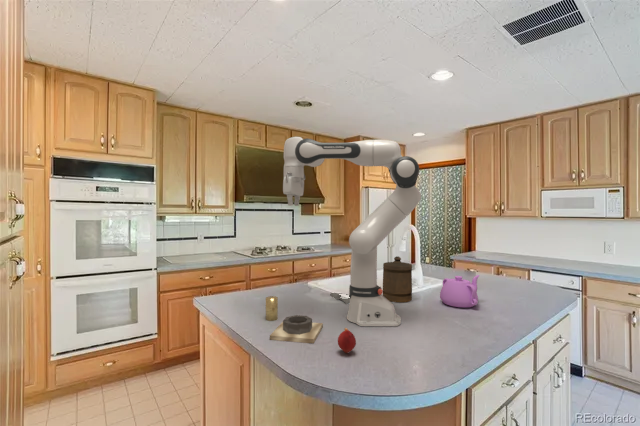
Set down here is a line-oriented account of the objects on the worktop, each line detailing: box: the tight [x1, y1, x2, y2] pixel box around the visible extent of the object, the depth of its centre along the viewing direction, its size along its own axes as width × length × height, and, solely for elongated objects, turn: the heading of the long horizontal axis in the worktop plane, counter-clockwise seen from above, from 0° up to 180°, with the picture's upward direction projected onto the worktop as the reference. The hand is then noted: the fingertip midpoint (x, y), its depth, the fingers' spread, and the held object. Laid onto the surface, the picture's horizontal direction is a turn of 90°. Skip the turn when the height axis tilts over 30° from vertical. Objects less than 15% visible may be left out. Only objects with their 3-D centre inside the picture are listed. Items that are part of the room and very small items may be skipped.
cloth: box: [329, 292, 350, 305], centre depth 168 cm, size 26×14×2 cm, turn 13°
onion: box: [337, 327, 357, 354], centre depth 103 cm, size 6×6×8 cm
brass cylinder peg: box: [265, 295, 279, 322], centre depth 136 cm, size 5×5×9 cm
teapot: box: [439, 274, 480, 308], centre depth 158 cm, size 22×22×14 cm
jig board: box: [269, 314, 324, 344], centre depth 120 cm, size 16×16×5 cm
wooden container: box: [382, 256, 413, 303], centre depth 167 cm, size 15×15×22 cm
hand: (293, 205), depth 142 cm, fingers open, 8 cm apart
